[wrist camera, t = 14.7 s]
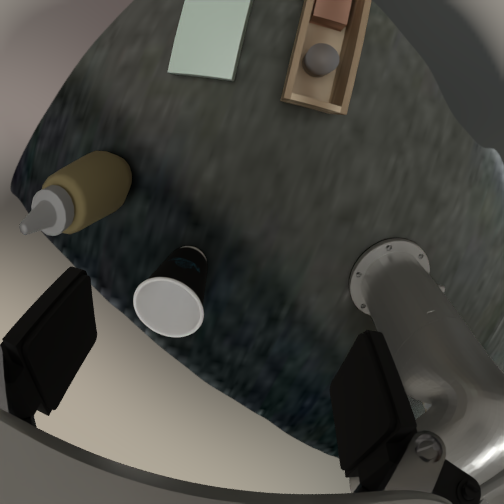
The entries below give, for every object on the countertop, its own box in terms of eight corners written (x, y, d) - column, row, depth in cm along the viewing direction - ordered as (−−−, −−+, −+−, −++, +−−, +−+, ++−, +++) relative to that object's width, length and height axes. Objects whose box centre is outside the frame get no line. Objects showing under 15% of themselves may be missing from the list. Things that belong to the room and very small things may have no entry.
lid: (268, -53, 22) (268, -62, 19) (234, 81, 30) (231, 79, 28) (210, -57, 21) (207, -66, 19) (174, 74, 30) (167, 72, 28)
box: (358, -16, 23) (378, -41, 16) (329, 113, 32) (346, 114, 24) (311, -30, 23) (321, -59, 16) (280, 101, 31) (283, 97, 24)
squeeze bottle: (144, 203, 38) (69, 272, 21) (94, 207, 38) (11, 270, 22) (136, 141, 34) (45, 175, 18) (84, 150, 34) (-12, 189, 18)
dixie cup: (208, 228, 39) (187, 271, 29) (225, 280, 42) (213, 333, 32) (154, 241, 40) (121, 285, 30) (174, 290, 43) (150, 340, 33)
